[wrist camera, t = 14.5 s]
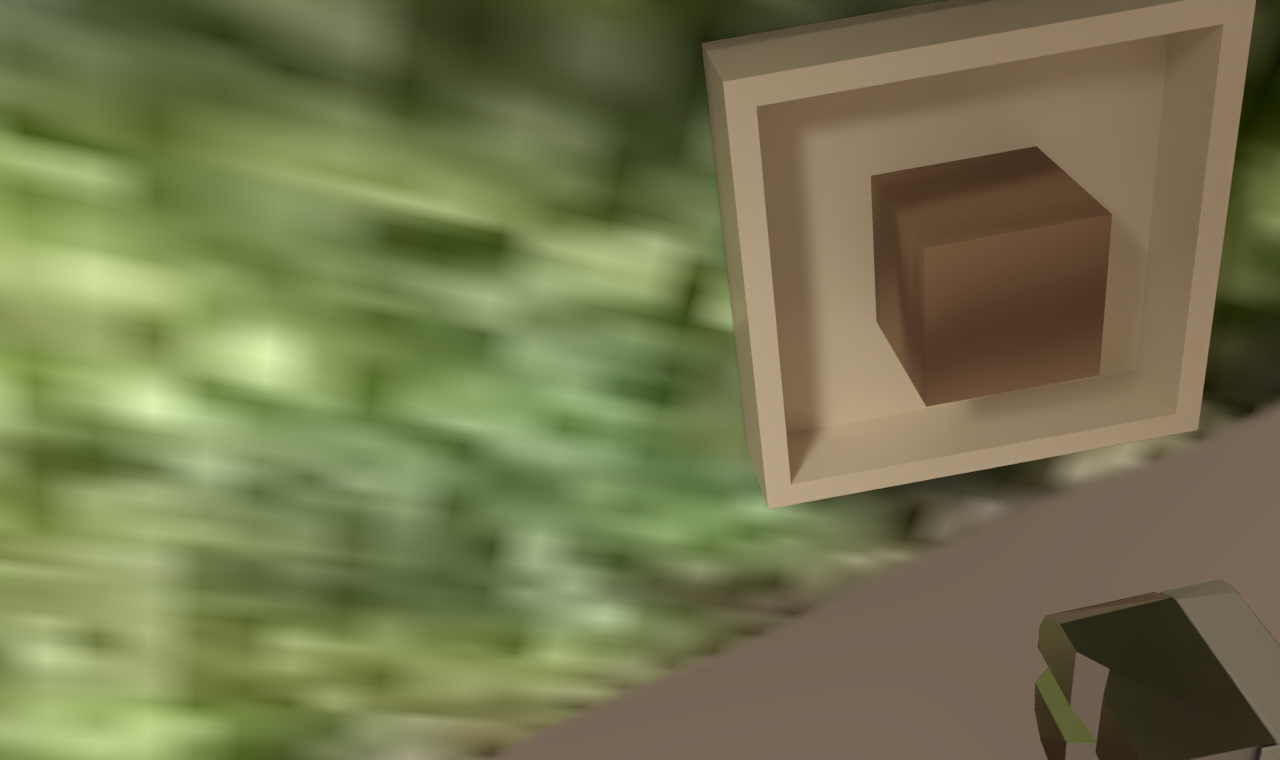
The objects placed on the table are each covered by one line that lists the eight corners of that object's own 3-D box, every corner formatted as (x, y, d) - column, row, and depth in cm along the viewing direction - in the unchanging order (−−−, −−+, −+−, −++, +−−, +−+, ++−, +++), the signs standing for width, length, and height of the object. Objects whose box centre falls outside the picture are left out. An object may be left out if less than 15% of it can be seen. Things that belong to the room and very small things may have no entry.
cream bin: (701, 43, 33) (722, 81, 30) (1188, -43, 34) (1257, -12, 31) (746, 446, 41) (768, 509, 38) (1146, 373, 41) (1197, 430, 38)
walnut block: (871, 175, 35) (923, 247, 31) (1036, 145, 35) (1111, 214, 31) (876, 321, 38) (926, 406, 34) (1030, 293, 38) (1099, 375, 34)
